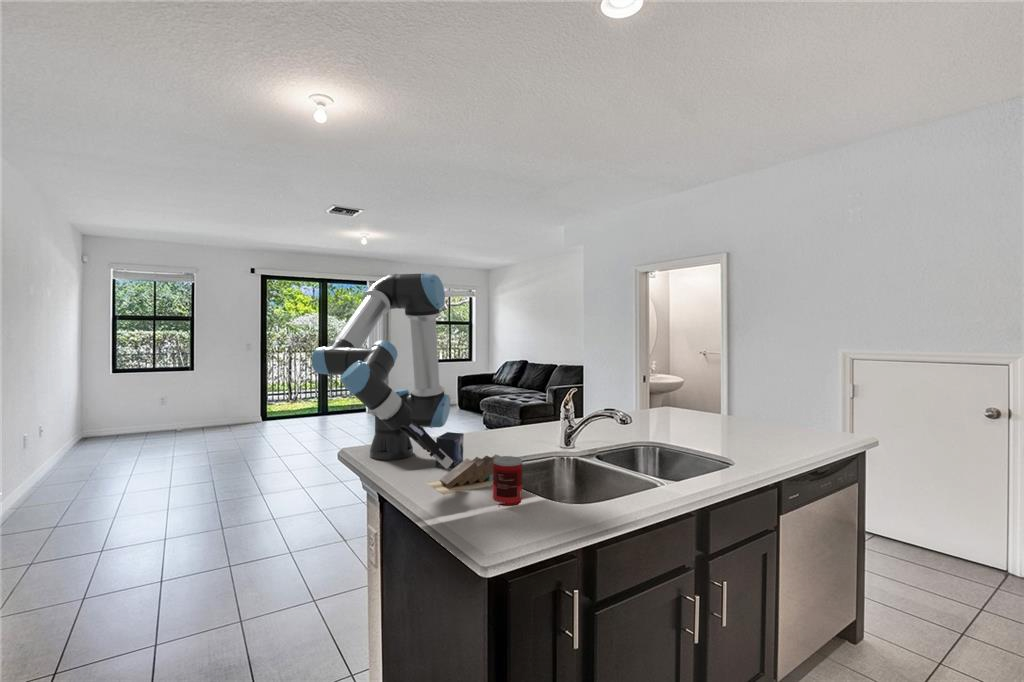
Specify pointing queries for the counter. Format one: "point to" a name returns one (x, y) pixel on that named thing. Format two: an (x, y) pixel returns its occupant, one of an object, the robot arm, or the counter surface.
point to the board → (456, 488)
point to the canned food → (507, 480)
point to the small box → (451, 448)
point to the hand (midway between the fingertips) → (449, 464)
